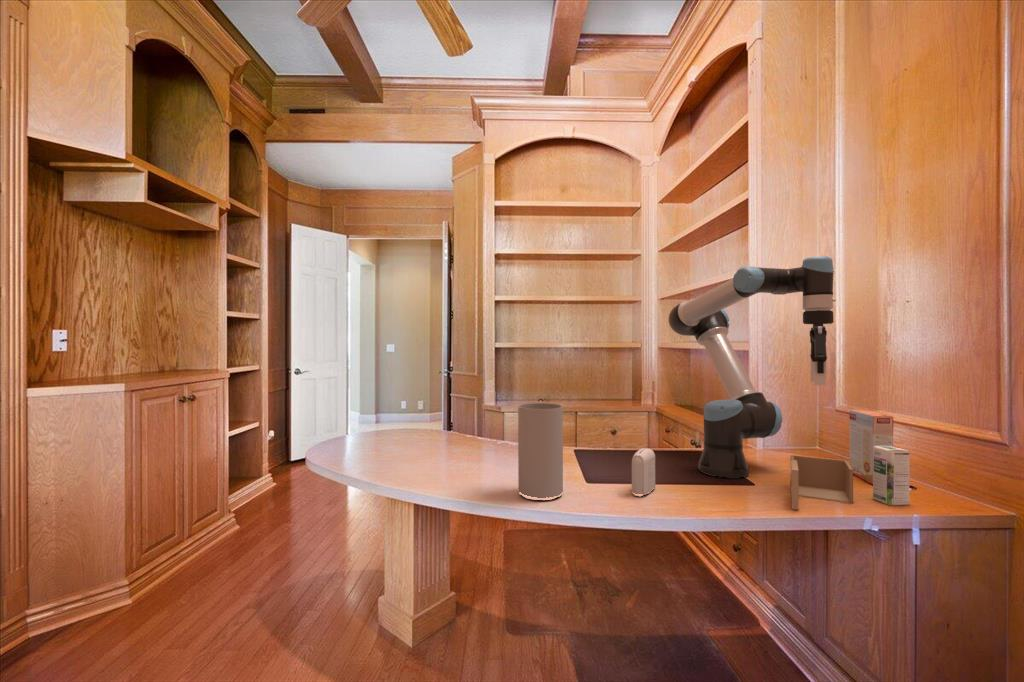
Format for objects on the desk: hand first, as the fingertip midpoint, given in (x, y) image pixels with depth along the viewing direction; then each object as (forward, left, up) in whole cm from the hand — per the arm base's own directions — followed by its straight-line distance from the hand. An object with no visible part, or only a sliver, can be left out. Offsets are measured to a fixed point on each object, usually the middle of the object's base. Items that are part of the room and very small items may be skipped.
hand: (818, 383), depth 138 cm
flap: (-7, -18, -30) cm, 36 cm away
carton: (0, -5, -31) cm, 31 cm away
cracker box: (+15, +19, -31) cm, 39 cm away
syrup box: (+16, -4, -31) cm, 35 cm away
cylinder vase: (-69, -43, -31) cm, 87 cm away
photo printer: (-44, -27, -31) cm, 60 cm away
